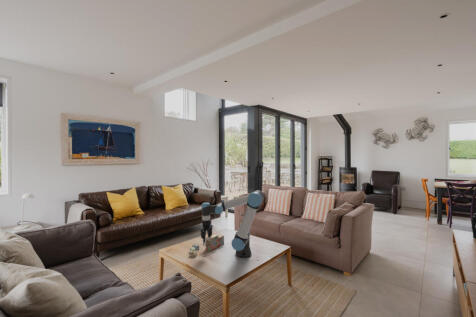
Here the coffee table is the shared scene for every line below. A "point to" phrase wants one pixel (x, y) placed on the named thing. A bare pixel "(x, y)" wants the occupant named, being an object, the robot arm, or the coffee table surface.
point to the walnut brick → (207, 243)
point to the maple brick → (193, 253)
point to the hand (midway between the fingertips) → (206, 244)
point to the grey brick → (196, 246)
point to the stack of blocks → (215, 241)
